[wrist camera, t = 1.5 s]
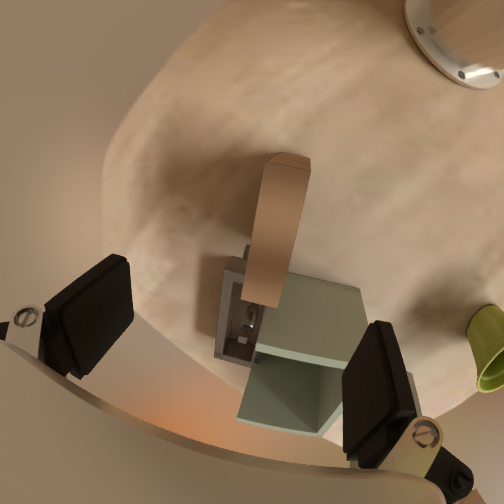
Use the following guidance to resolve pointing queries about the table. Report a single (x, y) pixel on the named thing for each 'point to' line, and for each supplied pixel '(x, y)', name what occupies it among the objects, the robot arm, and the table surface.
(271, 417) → the box
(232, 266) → the grey brown open box
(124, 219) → the table surface
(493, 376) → the plant pot
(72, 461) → the robot arm
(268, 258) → the door
